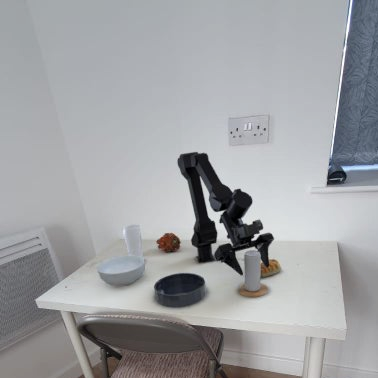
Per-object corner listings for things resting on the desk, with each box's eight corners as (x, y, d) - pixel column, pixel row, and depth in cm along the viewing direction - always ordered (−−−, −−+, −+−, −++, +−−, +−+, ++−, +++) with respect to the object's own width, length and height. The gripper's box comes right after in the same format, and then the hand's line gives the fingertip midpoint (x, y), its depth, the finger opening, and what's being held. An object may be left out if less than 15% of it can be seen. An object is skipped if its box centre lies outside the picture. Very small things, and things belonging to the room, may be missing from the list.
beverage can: (255, 284, 105) (254, 248, 99) (263, 289, 101) (263, 253, 95) (242, 288, 104) (241, 252, 98) (250, 294, 100) (249, 257, 94)
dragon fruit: (182, 256, 139) (160, 257, 146) (187, 239, 142) (165, 241, 149) (171, 244, 133) (149, 246, 139) (177, 227, 136) (155, 230, 142)
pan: (154, 287, 112) (152, 277, 110) (200, 280, 113) (199, 269, 111) (157, 311, 97) (155, 299, 95) (210, 302, 99) (209, 290, 97)
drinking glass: (126, 265, 133) (118, 229, 126) (134, 258, 138) (127, 223, 131) (140, 266, 130) (133, 229, 123) (148, 259, 136) (142, 224, 128)
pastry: (264, 280, 108) (264, 269, 106) (249, 274, 113) (249, 264, 111) (282, 270, 113) (283, 260, 111) (267, 266, 117) (267, 256, 116)
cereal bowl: (92, 289, 116) (86, 271, 112) (117, 270, 129) (113, 253, 125) (133, 293, 109) (128, 274, 106) (155, 273, 123) (152, 255, 119)
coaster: (235, 286, 106) (235, 285, 106) (261, 282, 107) (261, 281, 107) (243, 299, 98) (243, 298, 98) (272, 294, 99) (272, 293, 99)
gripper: (216, 218, 91) (238, 267, 87) (271, 205, 97) (294, 251, 93) (205, 238, 101) (225, 283, 98) (256, 226, 107) (276, 267, 104)
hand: (255, 271), depth 98 cm, fingers open, 9 cm apart
